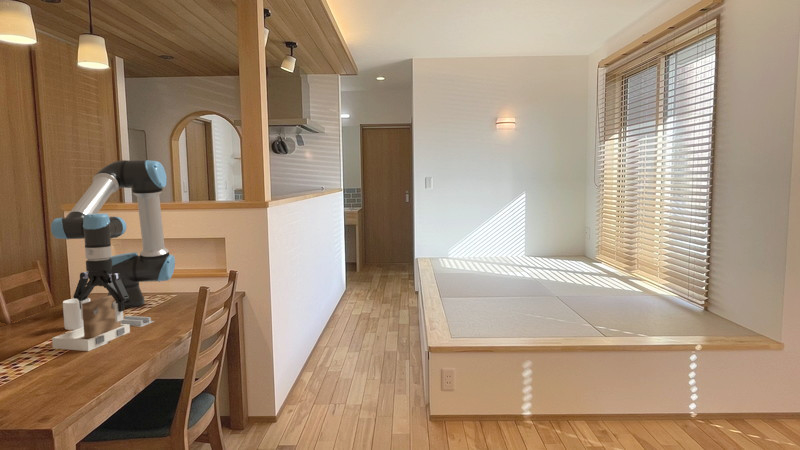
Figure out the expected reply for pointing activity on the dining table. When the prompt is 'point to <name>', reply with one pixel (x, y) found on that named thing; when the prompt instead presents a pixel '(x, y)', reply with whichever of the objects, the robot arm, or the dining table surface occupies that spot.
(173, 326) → the dining table surface
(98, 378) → the dining table surface
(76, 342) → the white tray
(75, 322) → the mug
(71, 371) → the dining table surface
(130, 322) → the rack
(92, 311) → the door
